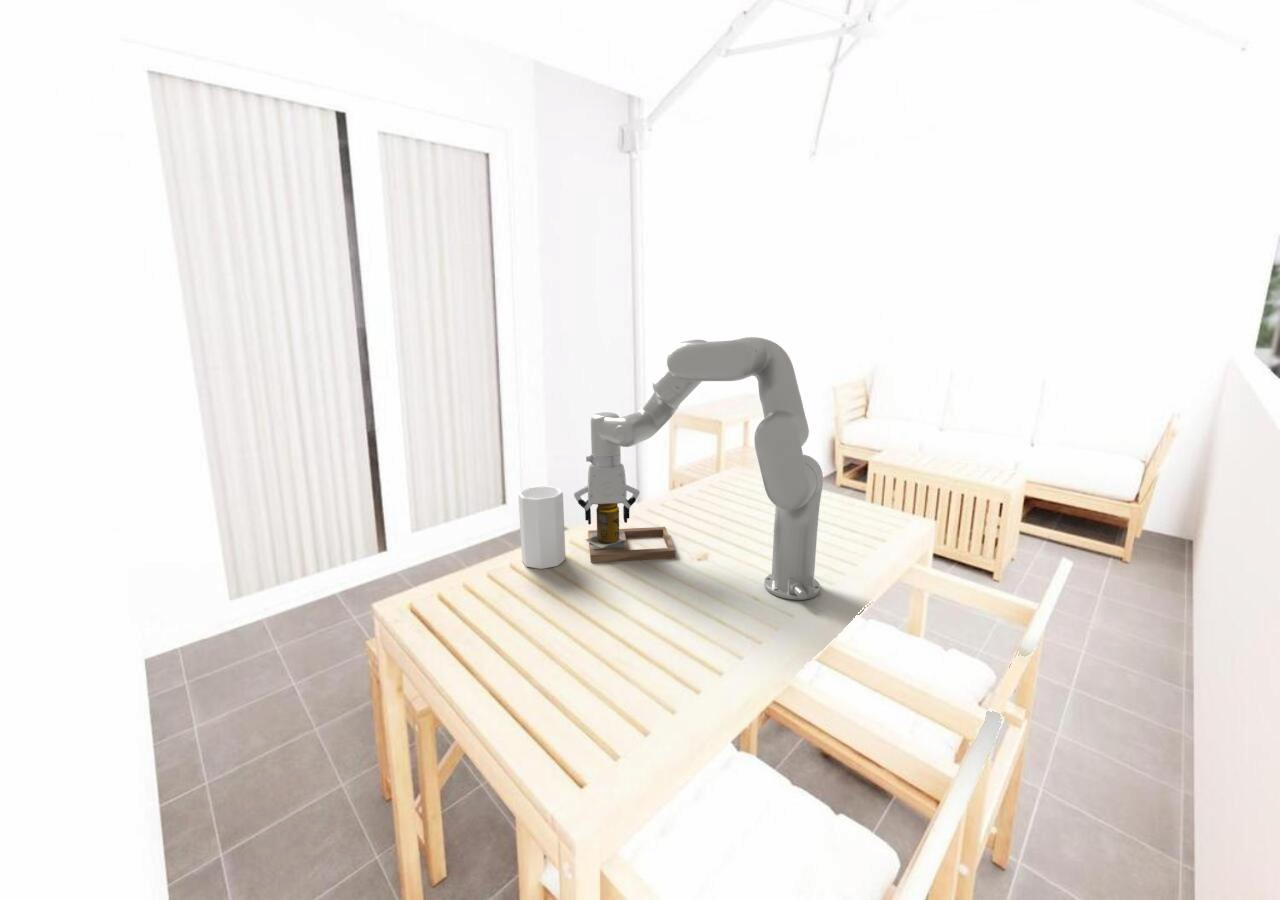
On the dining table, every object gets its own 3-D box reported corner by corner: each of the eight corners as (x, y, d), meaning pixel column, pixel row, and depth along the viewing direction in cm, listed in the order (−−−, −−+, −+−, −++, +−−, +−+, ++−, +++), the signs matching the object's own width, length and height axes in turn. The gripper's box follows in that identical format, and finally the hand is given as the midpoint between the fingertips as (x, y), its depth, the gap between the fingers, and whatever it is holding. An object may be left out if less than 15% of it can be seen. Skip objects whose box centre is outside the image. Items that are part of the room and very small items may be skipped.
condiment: (626, 539, 162) (625, 497, 159) (602, 548, 156) (601, 505, 153) (608, 532, 167) (607, 491, 164) (584, 541, 161) (583, 498, 158)
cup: (513, 560, 155) (509, 492, 150) (547, 547, 163) (544, 482, 158) (540, 573, 147) (536, 502, 143) (574, 559, 155) (572, 491, 151)
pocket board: (675, 557, 156) (675, 549, 155) (590, 562, 153) (590, 554, 153) (665, 533, 172) (665, 525, 172) (588, 537, 170) (588, 529, 169)
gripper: (573, 465, 152) (575, 528, 156) (640, 462, 154) (641, 525, 158) (572, 457, 159) (574, 518, 163) (637, 455, 161) (637, 515, 165)
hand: (607, 521), depth 160 cm, fingers open, 9 cm apart
